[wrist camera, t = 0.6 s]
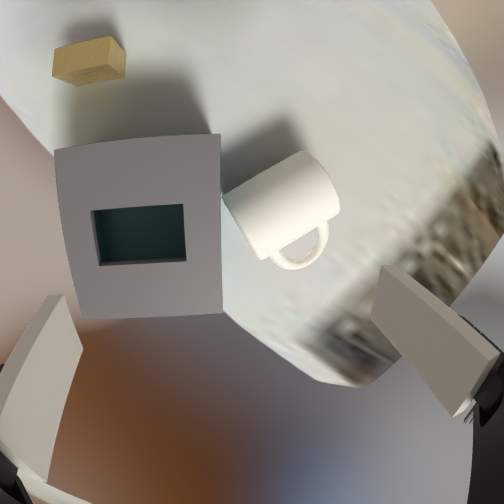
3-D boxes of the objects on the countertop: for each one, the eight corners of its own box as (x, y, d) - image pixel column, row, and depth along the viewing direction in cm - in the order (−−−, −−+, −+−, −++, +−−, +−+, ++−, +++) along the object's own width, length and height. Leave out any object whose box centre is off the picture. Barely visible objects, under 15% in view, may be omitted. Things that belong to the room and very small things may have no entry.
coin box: (91, 145, 28) (54, 150, 19) (212, 135, 30) (220, 133, 21) (106, 274, 34) (83, 318, 25) (214, 268, 36) (223, 312, 27)
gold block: (77, 86, 25) (51, 76, 18) (78, 63, 23) (54, 48, 17) (124, 77, 26) (108, 64, 19) (126, 54, 25) (111, 35, 18)
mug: (217, 190, 33) (225, 206, 26) (291, 147, 33) (319, 151, 25) (266, 269, 38) (284, 301, 31) (331, 229, 38) (361, 252, 31)
